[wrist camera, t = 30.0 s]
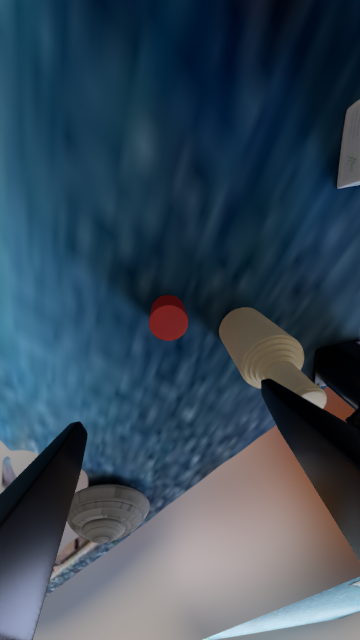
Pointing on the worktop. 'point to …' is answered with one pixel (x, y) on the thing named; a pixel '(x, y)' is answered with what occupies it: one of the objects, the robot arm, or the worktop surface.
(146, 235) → the worktop surface
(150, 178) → the worktop surface
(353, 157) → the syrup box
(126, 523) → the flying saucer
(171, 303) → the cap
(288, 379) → the bottle
